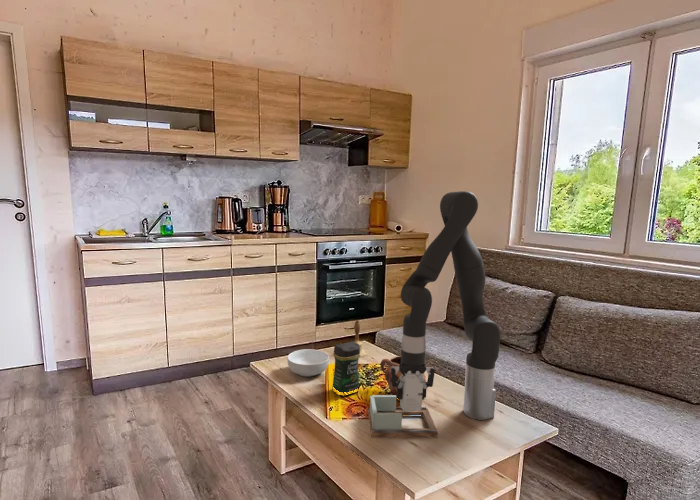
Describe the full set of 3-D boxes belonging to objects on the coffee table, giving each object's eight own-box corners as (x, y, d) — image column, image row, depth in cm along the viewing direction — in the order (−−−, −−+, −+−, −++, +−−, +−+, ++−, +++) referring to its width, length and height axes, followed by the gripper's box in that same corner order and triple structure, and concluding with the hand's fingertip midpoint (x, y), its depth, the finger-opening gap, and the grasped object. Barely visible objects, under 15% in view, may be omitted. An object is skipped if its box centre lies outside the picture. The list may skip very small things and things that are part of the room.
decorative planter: (369, 392, 158) (369, 356, 156) (387, 382, 168) (388, 348, 166) (416, 410, 146) (417, 371, 144) (433, 398, 155) (435, 361, 153)
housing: (395, 409, 143) (395, 395, 142) (401, 430, 130) (401, 414, 129) (369, 409, 142) (370, 395, 142) (373, 430, 130) (373, 414, 129)
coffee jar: (341, 399, 153) (342, 349, 150) (329, 390, 159) (329, 342, 157) (362, 392, 159) (364, 344, 156) (350, 384, 165) (351, 338, 163)
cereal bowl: (298, 385, 164) (298, 367, 163) (280, 369, 177) (280, 353, 176) (336, 375, 173) (336, 358, 172) (316, 361, 187) (316, 346, 186)
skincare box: (404, 412, 133) (405, 375, 132) (399, 405, 138) (400, 369, 136) (422, 410, 135) (424, 374, 133) (417, 404, 139) (419, 368, 138)
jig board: (427, 412, 144) (427, 406, 144) (437, 437, 130) (438, 431, 129) (368, 412, 144) (368, 406, 143) (371, 437, 129) (372, 431, 129)
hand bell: (346, 356, 193) (347, 322, 191) (349, 350, 201) (350, 317, 199) (364, 358, 192) (365, 323, 190) (367, 351, 200) (367, 318, 198)
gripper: (433, 344, 138) (431, 393, 140) (389, 343, 137) (387, 392, 139) (439, 352, 130) (436, 404, 132) (392, 351, 130) (389, 404, 132)
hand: (411, 398), depth 136 cm, fingers closed on skincare box, 6 cm apart
